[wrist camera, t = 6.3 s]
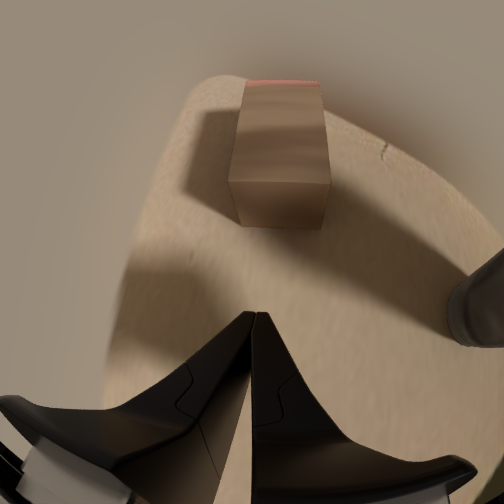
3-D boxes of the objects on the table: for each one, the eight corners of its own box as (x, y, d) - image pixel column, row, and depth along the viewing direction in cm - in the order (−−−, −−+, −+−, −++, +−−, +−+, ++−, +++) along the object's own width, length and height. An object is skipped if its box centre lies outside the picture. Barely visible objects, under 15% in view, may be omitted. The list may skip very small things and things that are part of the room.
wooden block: (331, 184, 12) (318, 81, 16) (227, 181, 13) (246, 80, 16) (320, 229, 17) (315, 130, 20) (241, 226, 18) (253, 129, 21)
